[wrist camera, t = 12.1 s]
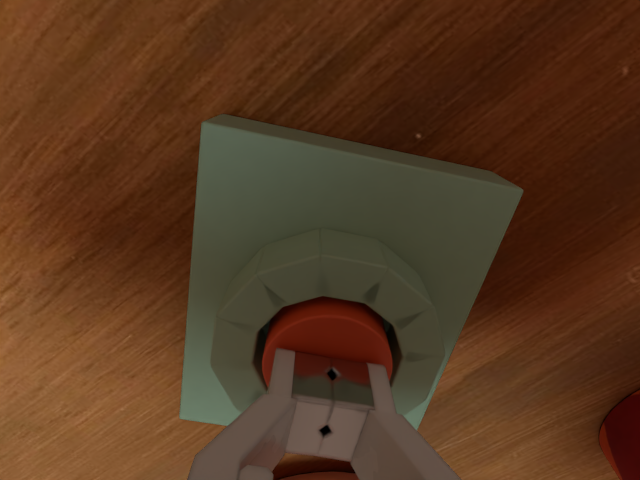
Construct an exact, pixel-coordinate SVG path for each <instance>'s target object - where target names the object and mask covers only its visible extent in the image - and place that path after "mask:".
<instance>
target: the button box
mask: <svg viewBox="0 0 640 480" xmlns="http://www.w3.org/2000/svg"><path fill="white" fill-rule="evenodd" d="M522 194H523V189H521V188H520V187H518V186H516V185H515V184H513V183H511V182H509V181H507V180H506V179H504V178H502V177H500V176H499V175H497V174H495V173H493V172H492V171H488V170H483V169H478V168H474V167H469V166H464V165H460V164H455V163H451V162H446V161H441V160H437V159H432V158H427V157H423V156H418V155H413V154H409V153H404V152H399V151H395V150H390V149H385V148H381V147H376V146H371V145H367V144H362V143H357V142H353V141H348V140H343V139H339V138H334V137H329V136H325V135H320V134H315V133H311V132H306V131H301V130H297V129H292V128H287V127H283V126H278V125H273V124H269V123H264V122H259V121H255V120H250V119H245V118H241V117H236V116H231V115H227V114H221V115H218V116H216V117H213V118H211V119H208V120H206V121H203V122H202V124H201V134H200V147H199V161H198V174H197V187H196V201H195V214H194V227H193V241H192V254H191V267H190V281H189V294H188V307H187V321H186V334H185V347H184V361H183V374H182V387H181V401H180V414H179V417H180V419H184V420H191V421H198V422H205V423H212V424H218V425H225V426H228V425H229V424H230V423H232V422H233V421H234V420H235V419H236V418H237V417H238V416H239V415H240V414H241V413H243V412H244V411H245V410H246V409H247V408H248V407H249V406H250V405H251V404H252V403H253V402H255V401H256V400H257V399H258V398H259V397H260V396H261V395H262V394H267V391H268V386H267V384H266V382H265V379H264V376H263V372H262V358H263V353H264V348H265V343H266V338H267V333H268V328H269V323H270V319H271V318H272V317H273V316H274V315H275V314H276V313H277V312H278V311H279V310H280V309H281V308H282V307H285V306H288V305H292V304H296V303H299V302H303V301H306V300H310V299H313V298H317V297H321V296H325V297H331V298H337V299H342V300H348V301H354V302H359V303H365V304H366V305H367V306H369V307H370V308H371V309H373V310H374V311H375V312H376V313H378V314H379V315H380V316H381V317H382V319H383V323H384V327H385V331H386V335H387V339H388V343H389V347H390V351H391V355H392V360H393V368H392V374H391V378H390V380H389V383H390V387H391V392H392V396H393V400H394V404H395V408H396V413H397V414H400V415H403V416H404V417H405V418H406V419H407V421H408V422H409V423H410V424H411V425H412V426H413V427H414V428H415V429H416V430H417V429H418V427H419V425H420V422H421V420H422V418H423V416H424V413H425V411H426V409H427V407H428V404H429V402H430V400H431V398H432V395H433V393H434V391H435V389H436V387H437V384H438V382H439V380H440V378H441V375H442V373H443V371H444V369H445V366H446V364H447V362H448V360H449V357H450V355H451V353H452V351H453V349H454V346H455V344H456V342H457V340H458V337H459V335H460V333H461V331H462V328H463V326H464V324H465V322H466V319H467V317H468V315H469V313H470V310H471V308H472V306H473V304H474V302H475V299H476V297H477V295H478V293H479V290H480V288H481V286H482V284H483V281H484V279H485V277H486V275H487V272H488V270H489V268H490V266H491V263H492V261H493V259H494V257H495V255H496V252H497V250H498V248H499V246H500V243H501V241H502V239H503V237H504V234H505V232H506V230H507V228H508V225H509V223H510V221H511V219H512V217H513V214H514V212H515V210H516V208H517V205H518V203H519V201H520V199H521V196H522Z"/></svg>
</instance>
